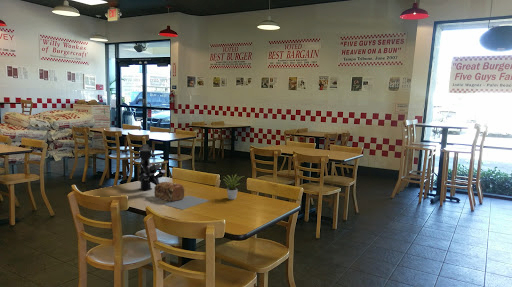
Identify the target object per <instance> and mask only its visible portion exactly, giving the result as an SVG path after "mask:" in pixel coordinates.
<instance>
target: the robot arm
mask: <svg viewBox="0 0 512 287" xmlns="http://www.w3.org/2000/svg"><path fill="white" fill-rule="evenodd" d="M152 149H153V148H152V147H150V145H149V144H147V143H146V144H144V143H143V144H141V147H139V153H138V154H139V157H138V158H139V159H140V162H139V164H140V166H141V167H140V169H139V172H138V181H139V182H140V187H139V188H138V190H141V191H143V192H144V191H150V190H152V189H153V188H152V187H151V184H153V185H155V186H156V185H157V184H158V183H160V181H159V178H160V179H161V178H163V177H164V176H165V174H166V170H165V169H161V168H162V165H161V162H159V163H158V162H157V163H156V164H152V163H151V162H150V161H151V159H152V157H153V153H152Z"/></svg>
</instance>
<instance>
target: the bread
mask: <svg viewBox="0 0 512 287" xmlns="http://www.w3.org/2000/svg"><path fill="white" fill-rule="evenodd" d="M153 190H154V192H153V193H154V197H155V198H158V199H162V200H165V201H167V202H168V201H177V200H182V199H183V198H184V197H185V186H183V185H182V184H180V183H177V182H170V181H162V182H159V183H158V184H157V185H155V186H154V189H153Z"/></svg>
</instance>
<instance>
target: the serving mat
mask: <svg viewBox="0 0 512 287" xmlns="http://www.w3.org/2000/svg"><path fill="white" fill-rule="evenodd" d="M209 201H210V199H205V198H200V197H197V196H196V197H195V196H192V195H186V196H185V195H184V198H183V199H182V200H177V201H168V200H167V201H166V202H161V205H164V206H167V207H170V208H174V209H178V210H181V211H183V210H186V209H188V208H191V207H195V206H198V205H201V204H204V203H207V202H209Z"/></svg>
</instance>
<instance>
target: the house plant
mask: <svg viewBox="0 0 512 287" xmlns="http://www.w3.org/2000/svg"><path fill="white" fill-rule="evenodd" d="M233 175H234V174H231V176H232V177H231V176H230V175H228V174H226V176H227V177H228V178H227V177H226V176H222V177H224V178H225V179H224V178H223V179H222V180H223V181H224V184H225V185H227V186H226V193H227V199H228V200H236V199H237V195H238V188H237V187H241V185H240V184H241V183H240V182H239V180H240V179H241V178H243V177H244V178H245V175H243V176H239V175H238V174H237V173H236V174H235V175H234V176H233ZM237 175H238V176H237ZM238 182H239V183H238Z"/></svg>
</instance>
